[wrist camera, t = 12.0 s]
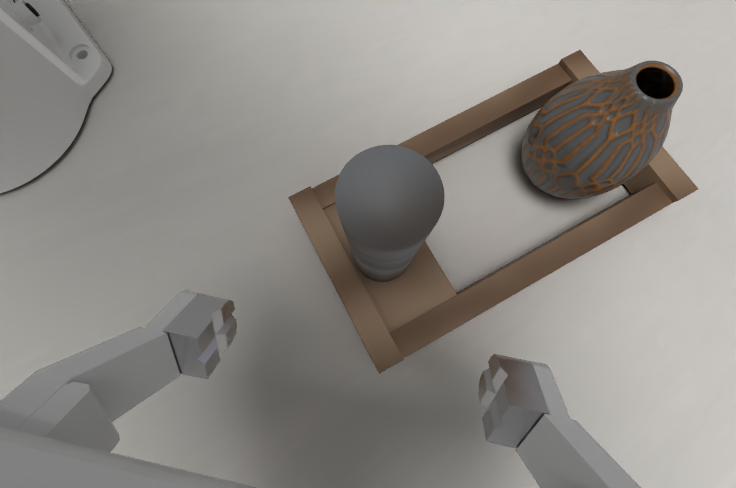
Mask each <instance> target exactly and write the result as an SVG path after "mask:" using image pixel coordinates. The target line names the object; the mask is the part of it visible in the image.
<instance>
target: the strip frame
mask: <svg viewBox="0 0 736 488" xmlns="http://www.w3.org/2000/svg"><path fill="white" fill-rule="evenodd" d="M598 73H599V71H598V70H597V69H596V68H595V67H594V66H593V64H592V63H591V62H590V61H589V60H588V59H587V57H586V56H585V55H584V54H583V53H582V51H581V50H579V51H577V52H575V53H573V54H571V55H569V56H567V57H565V58H563V59H561V61H560V62H559V63H558V64H557V65H555V66H553V67H551V68H549V69H547V70H545V71H543V72H541V73H539V74H537V75H535V76H533V77H531V78H529V79H527V80H525V81H523V82H521V83H519V84H517V85H515V86H513V87H511V88H509V89H507V90H505V91H503V92H501V93H499V94H497V95H495V96H493V97H491V98H489V99H487V100H486V101H484V102H482V103H480V104H478V105H476V106H474V107H472V108H470V109H468V110H466V111H464V112H462V113H460V114H458V115H456V116H454V117H452V118H450V119H448V120H446V121H444V122H442V123H440V124H438V125H436V126H434V127H432V128H430V129H428V130H426V131H424V132H422V133H420V134H418V135H416V136H415V137H413V138H411V139H409V140H407V141H405V142H403V143H401V144H399V145H382V146H376V147H373V148H369V149H367V150H365V151H363V152H361V153H359V154H357V155H356V156H355V157H353V158H352V159H351V160H350V161H349V162H348V163H347V164H346V166H345V167H344V168H343V170H342V171H341V173H340V175H338V176H336V177H334V178H332V179H330V180H328V181H326V182H324V183H322V184H320V185H318V186H316V187H314V188H311V186H310V187H308V188H306V189H304V190H302V191H300V192H298V193H296V194H294V195H292V196H290V197H288V198H289V200H290V201H291V203H292V205H293V207H294V209H295V211H296V213H297V215H298V217H299V219H300V221H301V223H302V225H303V227H304V229H305V231H306V232H307V234H308V236H309V238H310V240H311V242H312V244H313V246H314V248H315V250H316V252H317V254H318V256H319V258H320V260H321V262H322V263H323V265H324V267H325V269H326V271H327V273H328V275H329V277H330V279H331V281H332V283H333V285H334V287H335V289H336V291H337V293H338V294H339V296H340V298H341V300H342V302H343V304H344V306H345V308H346V310H347V312H348V314H349V316H350V318H351V320H352V322H353V324H354V325H355V327H356V329H357V331H358V333H359V335H360V337H361V339H362V341H363V343H364V345H365V347H366V349H367V351H368V353H369V355H370V357H371V358H372V360H373V362H374V364H375V366H376V368H377V370H378V372H379V373H381V372H383V371H385V370H386V369H388V368H390V367H391V366H393V365H395V364H397V363H398V362H400V361H402V360H404V359H403V358H405V357H407V356H408V355H410V354H412V353H414V352H415V351H417V350H419V349H420V348H422V347H424V346H426V345H427V344H429V343H431V342H433V341H434V340H436V339H438V338H439V337H441V336H443V335H445V334H446V333H448V332H450V331H452V330H453V329H455V328H457V327H458V326H460V325H462V324H464V323H465V322H467V321H469V320H471V319H472V318H474V317H476V316H478V315H479V314H481V313H483V312H484V311H486V310H488V309H490V308H491V307H493V306H495V305H497V304H498V303H500V302H502V301H503V300H505V299H507V298H509V297H510V296H512V295H514V294H516V293H517V292H519V291H521V290H523V289H524V288H526V287H528V286H529V285H531V284H533V283H535V282H536V281H538V280H540V279H542V278H543V277H545V276H547V275H548V274H550V273H552V272H554V271H555V270H557V269H559V268H561V267H562V266H564V265H566V264H568V263H569V262H571V261H573V260H574V259H576V258H578V257H580V256H581V255H583V254H585V253H587V252H588V251H590V250H592V249H593V248H595V247H597V246H599V245H600V244H602V243H604V242H606V241H607V240H609V239H611V238H612V237H614V236H616V235H618V234H619V233H621V232H623V231H625V230H626V229H628V228H630V227H632V226H633V225H635V224H637V223H638V222H640V221H642V220H644V219H645V218H647V217H649V216H651V215H652V214H654V213H656V212H657V211H659V210H661V209H663V208H664V207H666V206H668V205H670V204H671V203H673V202H676V201H678V200H680V199H682V198H684V197H685V196H687V195H689V194H691V193H692V192H694V191H696V190H698V188H697V187H696V185H695V184H694V183H693V182H692V181H691V180H690V178H689V177H688V176H687V175H686V174H685V172H684V171H683V170H682V169H681V168H680V167H679V165H678V164H677V163H676V162H675V161H674V160H673V158H672V157H671V156H670V155H669V154H668V152H667V151H666V150H665V149H664V148H663V147H661V148H660V150H659V152H658V153H657V154H656V156H655V157H654V158H653V159H652V161H651V162H650V163H649V164H648V165H647V166H646V167H645V168H644V169H643V170H642V171H641V172H640V173H638V174H637V175H636V176H635V177H633V178H632V179H631V180H629V181H627V182H626V183H624V185H625V186H626V187H627V189H628V190H629V191H630V192H631V195H629V196H627V197H626V198H624V199H622V200H620V201H619V202H617V203H615V204H613V205H612V206H610V207H608V208H606V209H605V210H603V211H601V212H599V213H597V214H596V215H594V216H592V217H590V218H589V219H587V220H585V221H583V222H582V223H580V224H578V225H576V226H575V227H573V228H571V229H569V230H567V231H566V232H564V233H562V234H560V235H559V236H557V237H555V238H553V239H552V240H550V241H548V242H546V243H545V244H543V245H541V246H539V247H537V248H536V249H534V250H532V251H530V252H529V253H527V254H525V255H523V256H522V257H520V258H518V259H516V260H515V261H513V262H511V263H509V264H507V265H506V266H504V267H502V268H500V269H499V270H497V271H495V272H493V273H492V274H490V275H488V276H486V277H485V278H483V279H481V280H479V281H477V282H476V283H474V284H472V285H470V286H469V287H467V288H465V289H463V290H462V291H460V292H458V293H456V292H455V290H454V289H453V287H452V285H451V284H450V282H449V280H448V279H447V277H446V275H445V274H444V272H443V270H442V269H441V267H440V266H439V264H438V262H437V261H436V259H435V257H434V256H433V254H432V252H431V251H430V249H429V247H428V246H427V244H426V242H425V240H426V238H427V237H428V235H429V234H430V232H431V231H432V229H433V228H434V226H435V225H436V223H437V222H438V220H439V218H440V216H441V213H442V210H443V205H444V188H443V184H442V181H441V178H440V176H439V174H438V172H437V170H436V169H435V168H434V166H433V165H432V163H434V162H436V161H437V160H439V159H441V158H443V157H445V156H447V155H449V154H451V153H453V152H455V151H457V150H459V149H461V148H463V147H464V146H466V145H468V144H470V143H472V142H474V141H476V140H478V139H480V138H482V137H484V136H486V135H488V134H490V133H491V132H493V131H495V130H497V129H499V128H501V127H503V126H505V125H507V124H509V123H511V122H513V121H515V120H516V119H518V118H520V117H522V116H524V115H526V114H528V113H530V112H532V111H534V110H536V109H538V108H540V107H542V106H543V105H544V104H545V103H546V102H547V101H548V100H550V99H551V98H552V97H553V96H554V95H556V94H557V93H558V92H560V91H561V90H562V89H564V88H566V87H567V86H569V85H571V84H572V83H574V82H576V81H578V80H580V79H583V78H585V77H588V76H591V75H594V74H598Z"/></svg>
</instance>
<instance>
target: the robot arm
mask: <svg viewBox="0 0 736 488" xmlns="http://www.w3.org/2000/svg"><path fill="white" fill-rule="evenodd" d="M111 71H112V66H111V63H110V62H109V60H108V59H107V58H106V56H105V55H104V54H103V52H102V51H101V50H100V48H99V47H98V46H97V44H96V43H95V42H94V41H93V39H92V38H91V37H90V35H89V34H88V33H87V31H86V30H85V29H84V27H83V26H82V25H81V23H80V22H79V21H78V19H77V18H76V17H75V15H74V14H73V13H72V11H71V10H70V9H69V7H68V6H67V5H66V4H65V2H64V1H63V0H0V193H3V192H6V191H9V190H12V189H14V188H16V187H19V186H21V185H23V184H25V183H27V182H28V181H30V180H32V179H34V178H35V177H37V176H38V175H40V174H41V173H42V172H44V171H45V170H46V169H48V168H49V167H50V166H51V165H52V164H53V163H55V162H56V161H57V160H58V159H59V158H60V157H61V156H62V154H63V153H64V152H65V151H66V150H67V148H68V147H69V146H70V145H71V143H72V142H73V140H74V139H75V137H76V135H77V134H78V132H79V130H80V128H81V126H82V123H83V121H84V118H85V115H86V112H87V109H88V106H89V104H90V102H91V100H92V98H93V96H94V95H95V94H96V93H97V92H98V91H99V89H100V88H101V87H102V86H103V85H104V83H105V82H106V81H107V79H108V78H109V76H110V74H111ZM234 310H235V308H234V303H233V301H230V300H226V299H222V298H218V297H213V296H209V295H205V294H199V293H195V292H191V291H183V292H181V293H179V294H178V295H177V296H176V297H175V298H174V299H173V300H172V301H171V302H170V303H169V304H168V305H167V306H166V307H165V308H164V309H163V310H162V311H161V312H160V313H159V314H158V315H157V316H156V317H155V318H154V319H153V320H152V321H151V322H150V323H149V324H148V325H147V326H146V327H145V328H142V327H139V328H136V329H134V330H132V331H129V332H127V333H125V334H122V335H120V336H118V337H115V338H113V339H111V340H108V341H106V342H103V343H101V344H99V345H96V346H94V347H92V348H89V349H87V350H85V351H82V352H80V353H78V354H75V355H73V356H71V357H68V358H66V359H64V360H61V361H59V362H57V363H54V364H52V365H49V366H47V367H45V368H42V369H40V370H38V371H36V372H35V373H34V374H32V375H31V376H30V377H29V378H28V379H26V380H25V381H24V382H23V383H22V384H20V385H19V386H18V387H17V388H15V389H14V390H13V391H12V392H11V393H9V394H8V395H7V396H6V397H5V398H3V399H2V400H1V401H0V488H255V487H251V486H247V485H243V484H239V483H235V482H231V481H227V480H222V479H218V478H214V477H210V476H206V475H202V474H198V473H193V472H189V471H185V470H181V469H177V468H173V467H169V466H164V465H160V464H156V463H152V462H148V461H144V460H140V459H136V458H131V457H127V456H123V455H119V454H115V453H111V451H112V450H113V448H114V447H115V446H116V444H117V443H118V442H119V440H120V437H119V433H118V432H117V430H116V428H115V427H114V425H113V423H112V422H113V421H114V420H116V419H117V418H118V417H120V416H121V415H123V414H124V413H126V412H127V411H129V410H130V409H132V408H133V407H135V406H136V405H138V404H139V403H141V402H142V401H144V400H145V399H147V398H148V397H150V396H151V395H152V394H154V393H155V392H157V391H158V390H160V389H161V388H163V387H164V386H166V385H167V384H169V383H170V382H172V381H173V380H175V379H176V378H178V377H179V376H180V374H184V375H189V376H194V377H200V378H205V379H208V378H209V377H210V375H211V374H212V372H213V371H214V369H215V368H216V366H217V365H218V363H219V361H220V355H219V353H221V352H223V351H225V350H226V349H228V348H229V346H230V345H231V343H232V341H233V339H234V336H235V334H236V328H237V322H236V319H235V318H234V316H233V315H232V312H233V311H234ZM488 363H489V369H487V370H485V371H483V373H482V375H481V378H480V382H479V399H480V403H481V405H482V406H483V407H484V409H485V410H486V412H485V414H484V416H483V417H482V418H483V424H484V430H485V436H486V441H488V442H492V443H496V444H500V445H504V446H508V447H512V448H516V451H517V452H518V454H519V455H520V457H521V459H522V460H523V462H524V463H525V465H526V466H527V468H528V470H529V471H530V473H531V474H532V476H533V477H534V479H535V480H536V482H537V484H538V485H539V487H540V488H641V487H640V486H639V485H638V484H637V483H636V482H635V481H634V480H633V479H632V478H631V477H630V476H629V475H628V474H627V473H626V472H625V471H624V470H623V469H622V468H621V466H620V465H619V464H618V463H617V462H616V461H615V460H614V459H613V458H612V457H611V456H610V455H609V454H608V453H607V452H606V451H605V450H604V449H603V448H602V447H601V446H600V445H599V444H598V443H597V442H596V441H595V440H594V439H593V438H592V436H591V435H590V434H589V433H588V432H587V431H586V430H585V429H584V428H583V427H582V426H581V425H580V424H579V423H578V422H577V421H575V420H571V419H570V417H569V414H568V412H567V409H566V407H565V404H564V402H563V399H562V397H561V394H560V392H559V389H558V387H557V384H556V382H555V380H554V377H553V375H552V372H551V370H550V368H549V367H548V366H547V365H546V364H541V363H536V362H531V361H527V360H522V359H517V358H511V357H506V356H501V355H496V354H494V355H493V356H491V358H490V360H489V362H488Z"/></svg>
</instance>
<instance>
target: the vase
mask: <svg viewBox="0 0 736 488" xmlns="http://www.w3.org/2000/svg"><path fill="white" fill-rule="evenodd" d="M682 88H683V83H682V80H681V77H680V75H679V74H678V73H677V71H676V70H675V69H674V68H672V67H671V66H669V65H667V64H665V63H663V62H659V61H646V62H642V63H640V64H637V65H635V66H633V67H631V68H628V69H625V70H617V71H610V72H604V73H598V74H594V75H591V76H588V77H585V78H583V79H580V80H578V81H576V82H574V83H572V84H571V85H569V86H567V87H566V88H564V89H562V90H561V91H560V92H558V93H557V94H556V95H554V96H553V97H552V98H551V99H550V100H548V101H547V102H546V103H545V104H544V106H543V107H542V108H541V109H540V110H539V111H538V113H537V114H536V116H535V117H534V118H533V120H532V122H531V123H530V125H529V127H528V129H527V131H526V134H525V136H524V140H523V144H522V151H521V159H522V164H523V168H524V170H525V172H526V174H527V176H528V177H529V179H530V180H531V181H532V183H533V184H534V185H535V186H537V187H538V188H539V189H541V190H542V191H544V192H546V193H548V194H550V195H553V196H556V197H560V198H569V199H578V198H587V197H592V196H596V195H600V194H603V193H605V192H608V191H610V190H612V189H615V188H617V187H619V186H621V185H622V184H624V183H626V182H627V181H629V180H631V179H632V178H633V177H635V176H636V175H637V174H638V173H640V172H641V171H642V170H643V169H644V168H645V167H646V166H647V165H648V164H649V163H650V162H651V161H652V159H653V158H654V157H655V156H656V154H657V153H658V152H659V150H660V148H661V147H662V145H663V143H664V141H665V139H666V136H667V133H668V129H669V125H670V120H671V114H672V108H673V106H674V104H675V103H676V101H677V100H678V98H679V96H680V94H681V92H682Z"/></svg>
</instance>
